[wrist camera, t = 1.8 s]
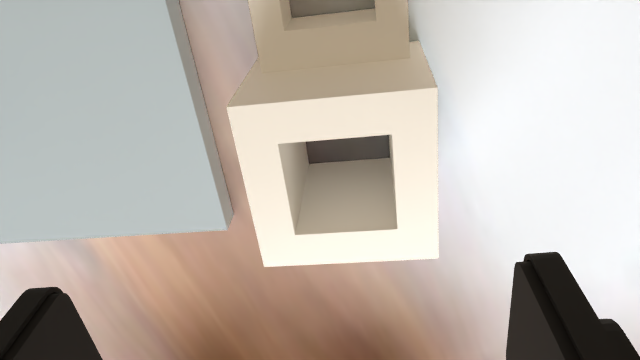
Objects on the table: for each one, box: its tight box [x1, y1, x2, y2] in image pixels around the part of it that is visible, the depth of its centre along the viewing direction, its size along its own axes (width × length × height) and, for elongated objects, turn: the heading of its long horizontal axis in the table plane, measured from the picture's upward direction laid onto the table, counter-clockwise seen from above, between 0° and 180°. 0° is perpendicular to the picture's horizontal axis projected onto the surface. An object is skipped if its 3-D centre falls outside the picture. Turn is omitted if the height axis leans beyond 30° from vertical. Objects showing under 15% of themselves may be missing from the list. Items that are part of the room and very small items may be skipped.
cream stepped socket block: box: [226, 0, 439, 267], centre depth 16 cm, size 11×6×5 cm, turn 7°
